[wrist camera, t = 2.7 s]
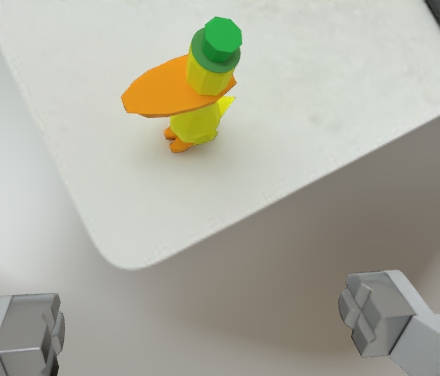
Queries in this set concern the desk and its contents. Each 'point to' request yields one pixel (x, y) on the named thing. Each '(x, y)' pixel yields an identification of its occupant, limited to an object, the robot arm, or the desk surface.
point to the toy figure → (191, 86)
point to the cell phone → (435, 7)
